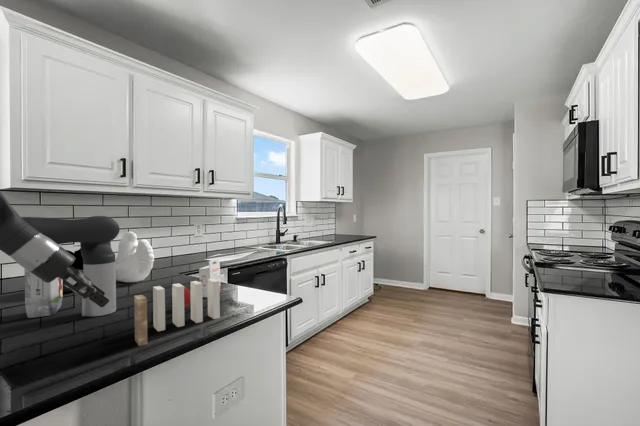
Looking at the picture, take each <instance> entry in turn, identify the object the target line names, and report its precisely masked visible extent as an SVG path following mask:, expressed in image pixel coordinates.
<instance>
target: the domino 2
mask: <svg viewBox="0 0 640 426" xmlns="http://www.w3.org/2000/svg"><path fill="white" fill-rule="evenodd" d="M171 295H172V296H171V297H172V298H171V300H172V301H171V303H172V304H171V307H172V310H171V311H172V324H173V325H174V326H175V327H177V328H180V327H184V326H185V309H184V285H182V284H181V283H179V282H178V283H173V284H171Z"/></svg>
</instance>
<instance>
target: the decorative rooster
mask: <svg viewBox="0 0 640 426" xmlns="http://www.w3.org/2000/svg"><path fill="white" fill-rule="evenodd" d="M117 246H118V248H117V250H118V251H117V255H116V257H115V269H116V281H119V282H123V283H138V282H141V281H144V280H145V279H146V278H147V277H148V276H149V275H150V272H151V271H152V269H153V267H154V262H155V255H154V250H153V246H152V245H151V244H150V241H148V239H144V238H143V239H140V240H138V235H137V234H136V233H135V232H133V231H125V232H124V233H123V235H122V238H121V239H120V240H119V242H118V245H117Z"/></svg>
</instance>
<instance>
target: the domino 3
mask: <svg viewBox="0 0 640 426" xmlns="http://www.w3.org/2000/svg"><path fill="white" fill-rule="evenodd" d="M189 283H190V285H189V286H190V289H189V290H190V297H191V304H190V320H191V321H193V322H194V323H195V324H199V323H203V321H204V319H203V318H204V317H203V314H204V313H203V305H204V304H203V300H204V299H203V297H202V283H200V281H198V280H193V281H190V282H189Z"/></svg>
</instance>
